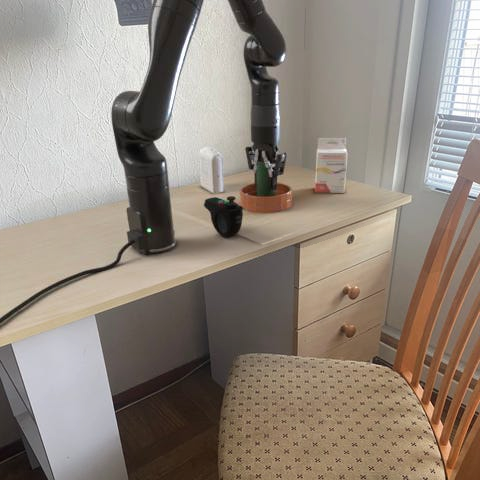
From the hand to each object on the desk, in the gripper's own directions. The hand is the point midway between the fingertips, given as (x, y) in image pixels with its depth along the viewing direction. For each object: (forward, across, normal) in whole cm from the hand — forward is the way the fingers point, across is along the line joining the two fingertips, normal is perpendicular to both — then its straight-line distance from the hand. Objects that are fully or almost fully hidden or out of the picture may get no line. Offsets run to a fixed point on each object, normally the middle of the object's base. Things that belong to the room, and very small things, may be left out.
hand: (265, 187), depth 141 cm
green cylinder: (+5, 0, 0) cm, 5 cm away
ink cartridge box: (+5, +4, +22) cm, 23 cm away
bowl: (+5, 0, 0) cm, 5 cm away
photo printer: (+5, -23, -1) cm, 24 cm away
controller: (+5, +9, -22) cm, 24 cm away
